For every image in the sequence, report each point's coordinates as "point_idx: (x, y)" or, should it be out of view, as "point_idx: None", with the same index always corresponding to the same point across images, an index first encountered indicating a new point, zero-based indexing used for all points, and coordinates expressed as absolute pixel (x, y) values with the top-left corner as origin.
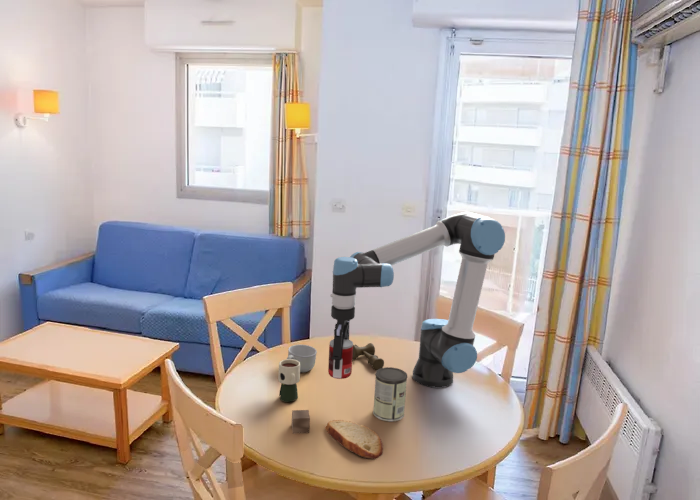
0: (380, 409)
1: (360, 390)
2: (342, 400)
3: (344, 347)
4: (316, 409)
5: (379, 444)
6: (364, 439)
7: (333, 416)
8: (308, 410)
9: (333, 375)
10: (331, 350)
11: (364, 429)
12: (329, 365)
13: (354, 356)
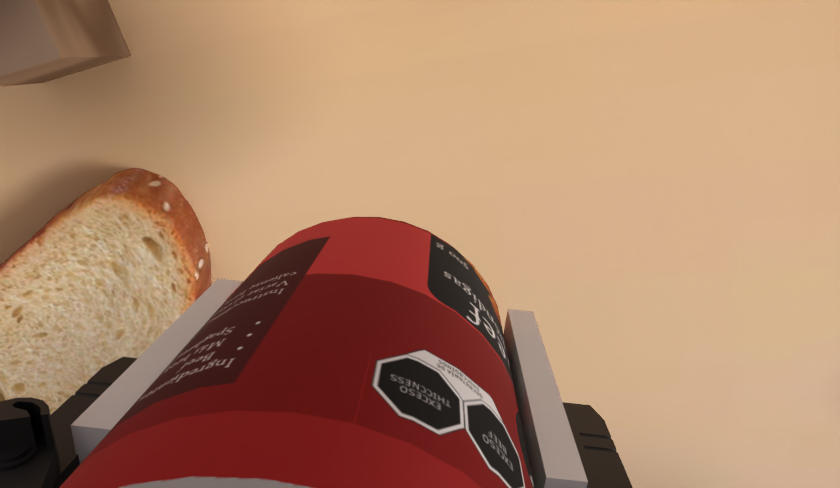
0: None
1: (636, 328)
2: (485, 233)
3: None
4: (330, 81)
5: None
6: (37, 385)
7: (274, 200)
8: (52, 59)
9: (209, 294)
10: (87, 459)
11: None
12: (262, 271)
13: None
